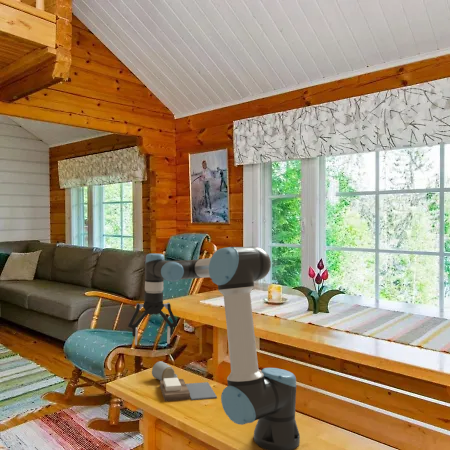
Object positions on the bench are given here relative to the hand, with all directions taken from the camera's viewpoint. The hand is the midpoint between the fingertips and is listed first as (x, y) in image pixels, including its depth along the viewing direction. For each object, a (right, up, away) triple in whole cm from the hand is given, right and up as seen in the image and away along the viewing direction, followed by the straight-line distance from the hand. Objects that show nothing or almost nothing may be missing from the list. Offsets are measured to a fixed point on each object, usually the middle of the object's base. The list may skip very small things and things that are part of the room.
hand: (152, 343), depth 182 cm
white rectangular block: (+8, -19, +2) cm, 20 cm away
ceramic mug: (+3, -21, +17) cm, 27 cm away
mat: (+19, -21, +5) cm, 29 cm away
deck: (+9, -21, +3) cm, 23 cm away
